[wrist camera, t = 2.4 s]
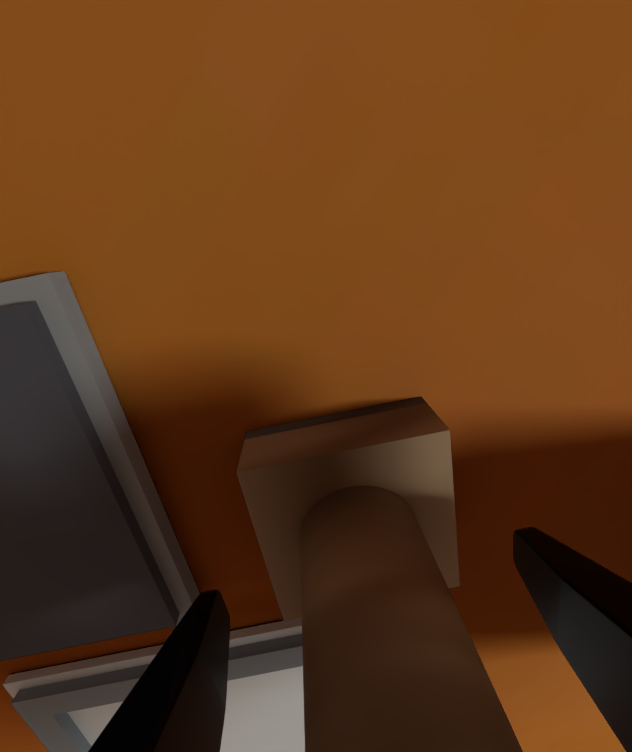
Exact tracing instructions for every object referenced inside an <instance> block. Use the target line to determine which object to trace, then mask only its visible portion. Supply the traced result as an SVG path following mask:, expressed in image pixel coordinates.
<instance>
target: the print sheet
mask: <svg viewBox="0 0 632 752" xmlns="http://www.w3.org/2000/svg"><path fill="white" fill-rule="evenodd" d="M162 646H163V645H158V646H153V647H148V648H143V649H138V650H133V651H128V652H123V653H117V654H112V655H107V656H102V657H97V658H92V659H87V660H82V661H77V662H72V663H67V664H62V665H57V666H52V667H47V668H41V669H36V670H31V671H26V672H21V673H16V674H11V675H8V677H7V678H6V680H5V681H4V683H3V684H2V685H3V686H4V688H5V689H6V690H7V691H8V693H9V694H10V695H11V696H12V698H13V700H12V702H11V705H12V706H13V707H14V708H15V710H16V711H17V712H18V713H19V715H20V716H21V717H22V718H23V720H24V721H25V722H26V723H27V725H28V726H29V727H30V728H31V730H32V731H33V732H34V734H35V735H36V736H37V737H38V739H39V740H40V741H41V742H42V744H43V745H44V746H45V747H46V749H47V750H48V751H49V752H88V751H89V749H90V748H91V747H92V745H93V744H94V742H95V741H96V739H97V738H98V737H99V735H100V734H101V732H102V731H103V729H104V728H105V727H106V725H107V724H108V722H109V721H110V720H111V718H112V717H113V715H114V714H115V712H116V711H117V710H118V708H119V707H120V705H121V704H122V703H123V701H124V700H125V698H126V697H127V695H128V694H129V693H130V691H131V690H132V688H133V687H134V686H135V684H136V683H137V681H138V680H139V678H140V677H141V676H142V674H143V673H144V671H145V670H146V669H147V667H148V666H149V664H150V663H151V661H152V660H153V659H154V657H155V656H156V654H157V653H158V652H159V650H160V649H161V647H162ZM220 752H305V732H304V693H303V653H302V618H297V619H292V620H287V621H280V622H274V623H269V624H264V625H259V626H254V627H249V628H244V629H239V630H234V631H230V642H229V660H228V679H227V697H226V710H225V719H224V726H223V733H222V740H221V747H220Z"/></svg>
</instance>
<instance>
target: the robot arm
mask: <svg viewBox="0 0 632 752" xmlns="http://www.w3.org/2000/svg"><path fill="white" fill-rule="evenodd" d="M513 558H514V563H515V565H516V568H517V570H518V572H519V574H520V576H521V578H522V579H523V581H524V583H525V585H526V587H527V589H528V591H529V593H530V595H531V596H532V598H533V600H534V602H535V604H536V606H537V608H538V610H539V612H540V613H541V615H542V617H543V619H544V621H545V623H546V625H547V627H548V629H549V630H550V632H551V634H552V636H553V638H554V639H555V641H556V643H557V645H558V646H559V648H560V650H561V651H562V653H563V654H564V656H565V658H566V659H567V661H568V662H569V664H570V665H571V667H572V668H573V670H574V671H575V673H576V675H577V676H578V678H579V679H580V681H581V682H582V684H583V685H584V687H585V688H586V690H587V692H588V693H589V695H590V696H591V698H592V699H593V701H594V702H595V704H596V705H597V707H598V709H599V710H600V712H601V713H602V715H603V716H604V718H605V719H606V721H607V722H608V724H609V726H610V727H611V729H612V730H613V732H614V733H615V735H616V736H617V738H618V739H619V741H620V743H621V744H622V746H623V747H624V749H625V750H626V752H632V583H631V582H629V581H627V580H626V579H624V578H622V577H620V576H619V575H617V574H615V573H613V572H612V571H610V570H608V569H606V568H605V567H603V566H601V565H599V564H598V563H596V562H594V561H592V560H591V559H589V558H587V557H585V556H584V555H582V554H580V553H578V552H577V551H575V550H573V549H571V548H570V547H568V546H566V545H564V544H563V543H561V542H559V541H557V540H556V539H554V538H552V537H551V536H549V535H547V534H545V533H544V532H542V531H540V530H538V529H536V528H533V527H528V528H523V529H518V530H516V531H515V532H514V535H513ZM229 642H230V616H229V613H228V610H227V607H226V605H225V602H224V600H223V597H222V595H221V593H220V591H219V590H211V591H206V592H202V593H200V594H199V595H198V596H197V598H196V599H195V600H194V602H193V603H192V605H191V606H190V608H189V609H188V610H187V612H186V613H185V615H184V616H183V618H182V619H181V620H180V622H179V623H178V625H177V626H176V627H175V629H174V630H173V632H172V633H171V635H170V636H169V637H168V639H167V640H166V642H165V643H164V644H163V646H162V647H161V649H160V650H159V652H158V653H157V654H156V656H155V657H154V659H153V660H152V661H151V663H150V664H149V666H148V667H147V669H146V670H145V671H144V673H143V674H142V676H141V677H140V678H139V680H138V681H137V683H136V684H135V686H134V687H133V688H132V690H131V691H130V693H129V694H128V695H127V697H126V698H125V700H124V701H123V703H122V704H121V705H120V707H119V708H118V710H117V711H116V712H115V714H114V715H113V717H112V718H111V720H110V721H109V722H108V724H107V725H106V727H105V728H104V729H103V731H102V732H101V734H100V735H99V737H98V738H97V739H96V741H95V742H94V744H93V745H92V747H91V748H90V749H89V751H88V752H220V747H221V740H222V733H223V726H224V719H225V710H226V697H227V679H228V660H229Z"/></svg>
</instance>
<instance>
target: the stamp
mask: <svg viewBox="0 0 632 752" xmlns="http://www.w3.org/2000/svg"><path fill="white" fill-rule="evenodd" d="M236 474H237V477H238V480H239V483H240V486H241V489H242V492H243V496H244V499H245V502H246V505H247V508H248V511H249V514H250V518H251V521H252V524H253V527H254V530H255V533H256V536H257V539H258V543H259V546H260V549H261V552H262V555H263V558H264V561H265V564H266V568H267V571H268V574H269V577H270V580H271V583H272V586H273V590H274V593H275V596H276V599H277V602H278V605H279V608H280V611H281V615H282V618H283V621H287V620H292V619H297V618H302V653H303V693H304V732H305V752H523V751H522V749H521V747H520V744H519V742H518V740H517V738H516V736H515V733H514V731H513V729H512V727H511V725H510V722H509V720H508V718H507V716H506V714H505V712H504V709H503V707H502V705H501V703H500V701H499V698H498V696H497V694H496V692H495V690H494V687H493V685H492V683H491V681H490V679H489V676H488V674H487V672H486V670H485V668H484V665H483V663H482V661H481V659H480V657H479V655H478V652H477V650H476V648H475V646H474V644H473V641H472V639H471V637H470V635H469V633H468V630H467V628H466V626H465V624H464V622H463V619H462V617H461V615H460V613H459V611H458V608H457V606H456V604H455V602H454V600H453V598H452V595H451V593H450V591H449V588H455V587H460V576H459V560H458V545H457V530H456V515H455V500H454V485H453V470H452V455H451V440H450V430H449V428H448V427H447V426H446V425H445V424H444V423H443V421H442V420H441V419H440V418H439V417H438V416H437V414H436V413H435V412H434V411H433V410H432V409H431V407H430V406H429V405H428V404H427V403H426V402H425V400H424V399H423V398H422V397H417V398H412V399H407V400H402V401H397V402H392V403H387V404H382V405H377V406H372V407H367V408H362V409H357V410H352V411H347V412H342V413H337V414H332V415H327V416H322V417H317V418H312V419H307V420H302V421H297V422H292V423H287V424H282V425H277V426H272V427H267V428H262V429H257V430H252V431H247V432H246V435H245V439H244V443H243V447H242V451H241V455H240V459H239V463H238V467H237V471H236Z"/></svg>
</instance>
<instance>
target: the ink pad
mask: <svg viewBox="0 0 632 752" xmlns="http://www.w3.org/2000/svg"><path fill="white" fill-rule="evenodd" d="M199 594H200V593H199V590H198V588H197V586H196V583H195V581H194V579H193V576H192V574H191V571H190V569H189V567H188V564H187V562H186V559H185V557H184V555H183V552H182V550H181V548H180V545H179V543H178V540H177V538H176V536H175V533H174V531H173V528H172V526H171V524H170V521H169V519H168V517H167V514H166V512H165V509H164V507H163V505H162V502H161V500H160V498H159V495H158V493H157V490H156V488H155V486H154V483H153V481H152V478H151V476H150V474H149V471H148V469H147V467H146V464H145V462H144V459H143V457H142V455H141V452H140V450H139V447H138V445H137V443H136V440H135V438H134V436H133V433H132V431H131V428H130V426H129V424H128V421H127V419H126V417H125V414H124V412H123V409H122V407H121V405H120V402H119V400H118V397H117V395H116V393H115V390H114V388H113V386H112V383H111V381H110V378H109V376H108V374H107V371H106V369H105V366H104V364H103V362H102V359H101V357H100V355H99V352H98V350H97V347H96V345H95V343H94V340H93V338H92V335H91V333H90V331H89V328H88V326H87V324H86V321H85V319H84V316H83V314H82V312H81V309H80V307H79V305H78V302H77V300H76V297H75V295H74V293H73V290H72V288H71V285H70V283H69V281H68V278H67V276H66V274H65V271H62V272H52V273H45V274H40V275H35V276H31V277H26V278H21V279H16V280H11V281H6V282H1V283H0V661H3V660H8V659H13V658H18V657H23V656H28V655H33V654H38V653H43V652H48V651H53V650H58V649H63V648H68V647H73V646H79V645H84V644H89V643H94V642H99V641H104V640H109V639H114V638H119V637H124V636H129V635H134V634H139V633H144V632H149V631H154V630H159V629H165V628H170V627H175V626H177V625H178V623H179V622H180V620H181V619H182V618H183V616H184V615H185V613H186V612H187V610H188V609H189V608H190V606H191V605H192V603H193V602H194V600H195V599H196V598H197V596H198V595H199Z"/></svg>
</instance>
